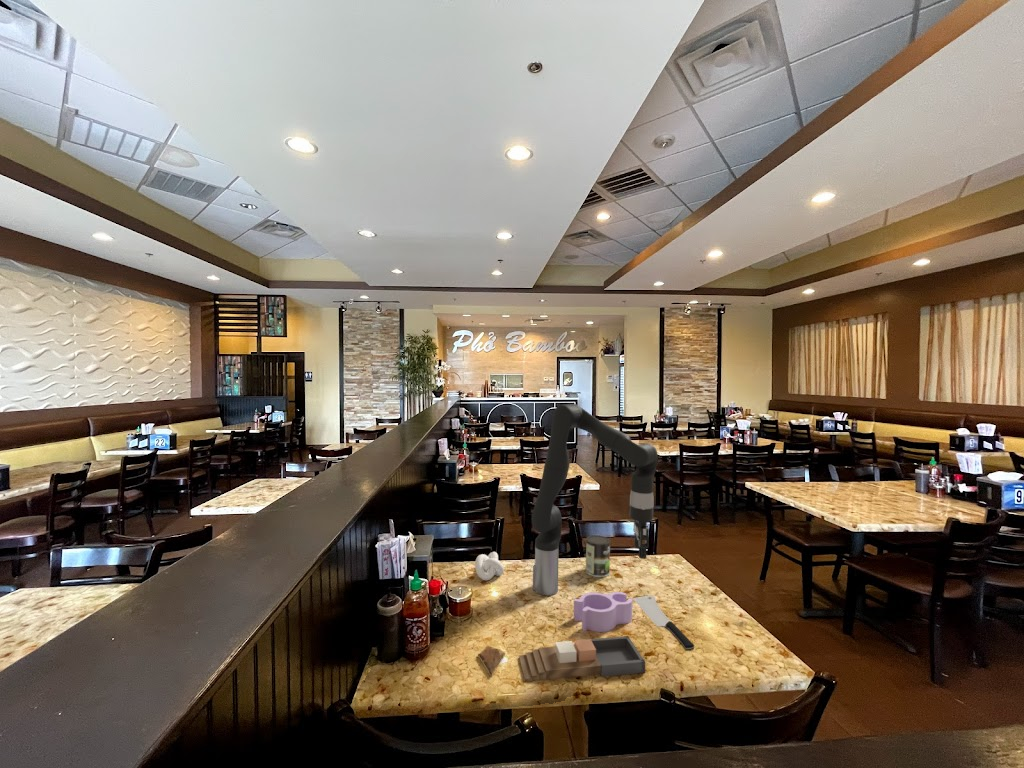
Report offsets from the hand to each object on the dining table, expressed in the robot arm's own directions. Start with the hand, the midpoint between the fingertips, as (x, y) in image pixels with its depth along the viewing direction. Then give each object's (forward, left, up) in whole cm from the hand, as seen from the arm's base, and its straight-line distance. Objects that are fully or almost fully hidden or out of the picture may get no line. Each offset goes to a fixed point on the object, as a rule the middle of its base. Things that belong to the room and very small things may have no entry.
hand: (640, 552), depth 142 cm
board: (-14, -27, -27) cm, 41 cm away
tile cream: (-15, -28, -24) cm, 40 cm away
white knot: (-64, +8, -27) cm, 70 cm away
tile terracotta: (-10, -24, -24) cm, 36 cm away
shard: (-34, -37, -27) cm, 57 cm away
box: (-3, -19, -27) cm, 33 cm away
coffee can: (-25, +34, -27) cm, 50 cm away
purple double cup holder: (-12, +1, -27) cm, 30 cm away
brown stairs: (-23, -34, -27) cm, 49 cm away
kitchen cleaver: (+5, +9, -27) cm, 29 cm away
